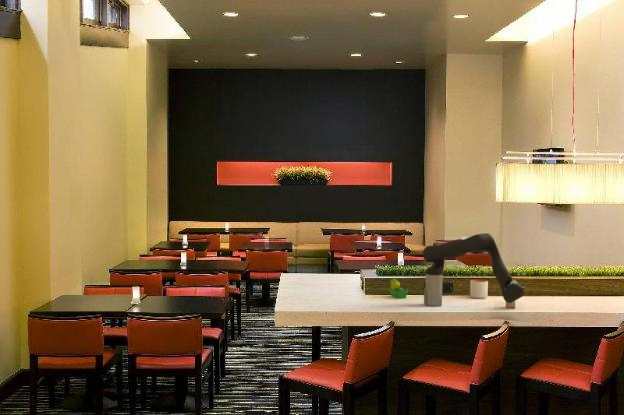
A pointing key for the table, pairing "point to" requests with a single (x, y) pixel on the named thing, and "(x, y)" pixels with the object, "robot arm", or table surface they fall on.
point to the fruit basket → (397, 290)
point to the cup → (479, 289)
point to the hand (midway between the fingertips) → (511, 284)
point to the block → (510, 304)
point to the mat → (503, 306)
